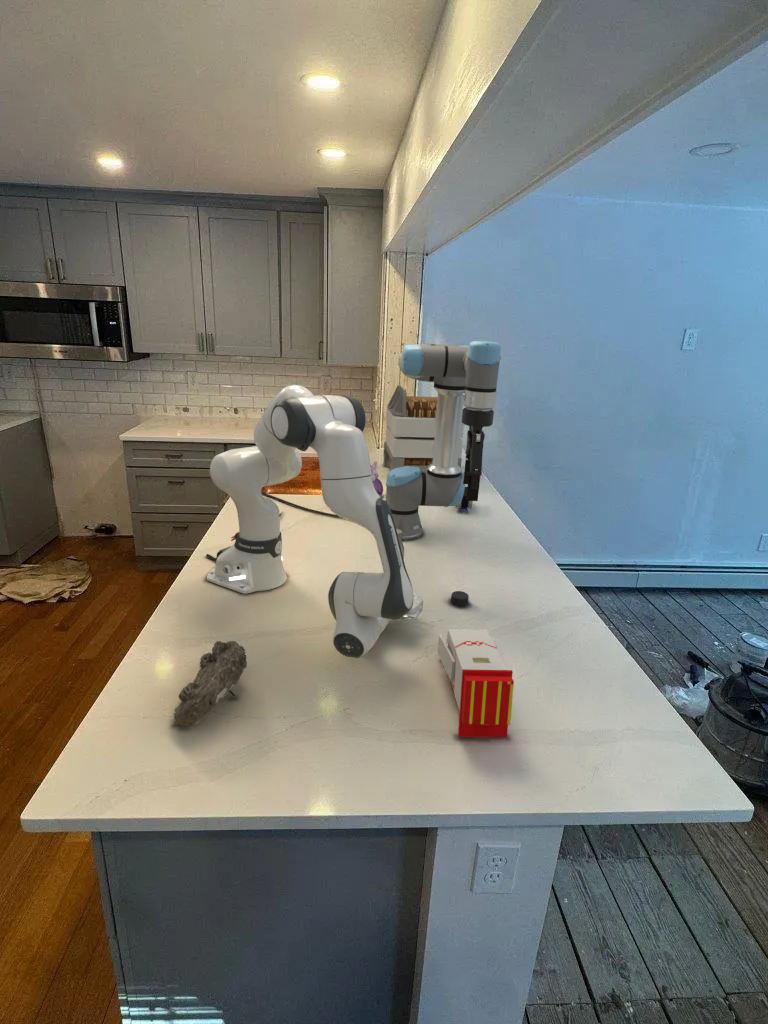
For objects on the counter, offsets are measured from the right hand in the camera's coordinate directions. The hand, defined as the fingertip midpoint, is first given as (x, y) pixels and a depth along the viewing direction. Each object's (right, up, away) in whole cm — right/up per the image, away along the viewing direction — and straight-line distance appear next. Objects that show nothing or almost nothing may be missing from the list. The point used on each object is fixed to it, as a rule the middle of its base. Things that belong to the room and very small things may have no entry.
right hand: (470, 492), depth 144 cm
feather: (-60, -7, +68) cm, 91 cm away
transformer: (-5, +14, +131) cm, 132 cm away
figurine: (-27, +1, +93) cm, 97 cm away
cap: (-1, -28, +10) cm, 30 cm away
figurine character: (+10, -4, +85) cm, 85 cm away
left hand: (-20, -25, +4) cm, 32 cm away
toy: (-4, -43, -25) cm, 50 cm away
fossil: (-56, -42, -30) cm, 76 cm away
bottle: (-20, -30, +7) cm, 37 cm away
